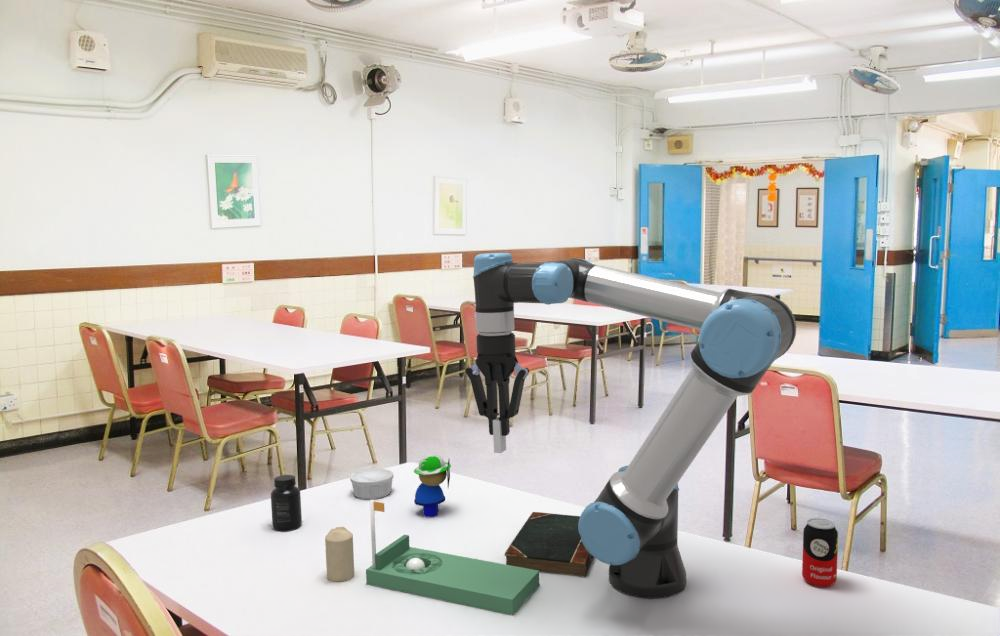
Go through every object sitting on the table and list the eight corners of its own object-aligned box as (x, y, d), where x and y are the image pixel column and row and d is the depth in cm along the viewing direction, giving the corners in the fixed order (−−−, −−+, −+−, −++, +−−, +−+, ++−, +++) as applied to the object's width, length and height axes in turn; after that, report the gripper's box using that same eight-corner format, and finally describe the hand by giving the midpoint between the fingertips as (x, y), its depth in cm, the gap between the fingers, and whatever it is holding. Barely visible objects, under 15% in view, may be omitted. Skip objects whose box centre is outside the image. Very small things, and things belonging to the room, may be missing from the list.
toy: (450, 519, 193) (449, 459, 191) (412, 519, 194) (410, 459, 192) (453, 506, 202) (451, 448, 200) (416, 506, 202) (415, 449, 200)
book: (532, 525, 190) (503, 570, 166) (532, 511, 190) (502, 553, 166) (605, 532, 185) (586, 579, 161) (605, 517, 185) (586, 562, 161)
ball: (418, 550, 164) (408, 563, 165) (408, 558, 160) (398, 571, 162) (432, 564, 163) (422, 577, 164) (422, 572, 159) (412, 585, 161)
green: (539, 585, 158) (538, 502, 156) (512, 615, 146) (510, 525, 144) (401, 558, 172) (398, 481, 169) (366, 583, 160) (363, 502, 158)
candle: (348, 583, 161) (346, 535, 159) (322, 580, 162) (320, 533, 160) (358, 571, 166) (356, 524, 165) (333, 569, 167) (331, 523, 166)
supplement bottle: (308, 524, 192) (305, 475, 190) (286, 534, 186) (283, 484, 185) (288, 518, 196) (285, 471, 194) (266, 528, 190) (263, 479, 188)
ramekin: (345, 500, 208) (344, 480, 207) (359, 486, 219) (358, 467, 218) (386, 502, 206) (385, 482, 206) (399, 487, 217) (398, 468, 216)
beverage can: (794, 578, 159) (796, 520, 158) (819, 572, 162) (821, 515, 160) (818, 591, 153) (821, 531, 152) (843, 585, 156) (845, 526, 154)
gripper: (533, 330, 156) (537, 448, 159) (473, 329, 161) (478, 443, 164) (519, 336, 149) (523, 459, 152) (456, 334, 155) (462, 453, 157)
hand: (500, 451), depth 158 cm, fingers closed
